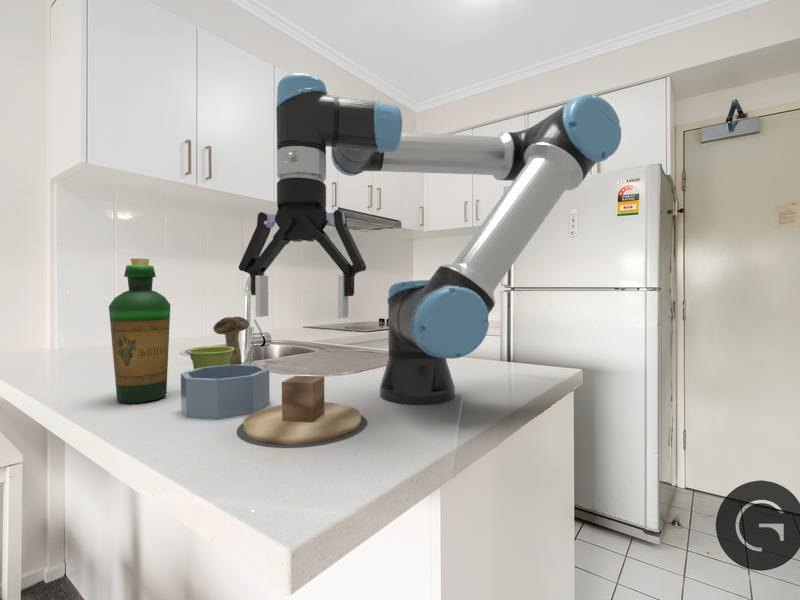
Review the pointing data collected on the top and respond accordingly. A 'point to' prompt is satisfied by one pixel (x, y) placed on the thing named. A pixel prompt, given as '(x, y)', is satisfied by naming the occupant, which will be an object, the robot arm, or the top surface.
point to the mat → (243, 437)
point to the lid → (302, 416)
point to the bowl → (224, 391)
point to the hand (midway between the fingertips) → (301, 317)
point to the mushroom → (232, 334)
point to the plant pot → (211, 356)
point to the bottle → (140, 337)
